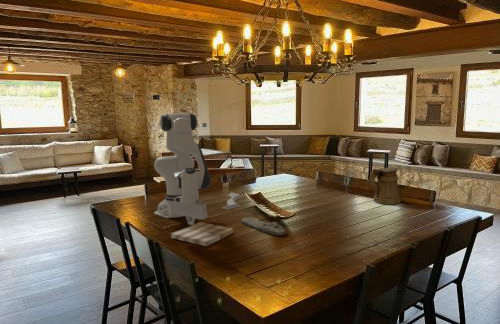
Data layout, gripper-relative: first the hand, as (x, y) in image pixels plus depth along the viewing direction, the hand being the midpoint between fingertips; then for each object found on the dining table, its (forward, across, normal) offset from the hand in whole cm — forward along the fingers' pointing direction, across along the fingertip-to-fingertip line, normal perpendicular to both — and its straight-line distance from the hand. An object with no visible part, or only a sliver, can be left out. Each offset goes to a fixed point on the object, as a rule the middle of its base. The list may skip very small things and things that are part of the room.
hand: (191, 224), depth 205 cm
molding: (+11, +27, -76) cm, 82 cm away
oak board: (+9, 0, -15) cm, 18 cm away
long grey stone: (+10, -23, -36) cm, 44 cm away
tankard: (+10, -70, -132) cm, 150 cm away
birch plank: (+9, -1, -3) cm, 9 cm away
